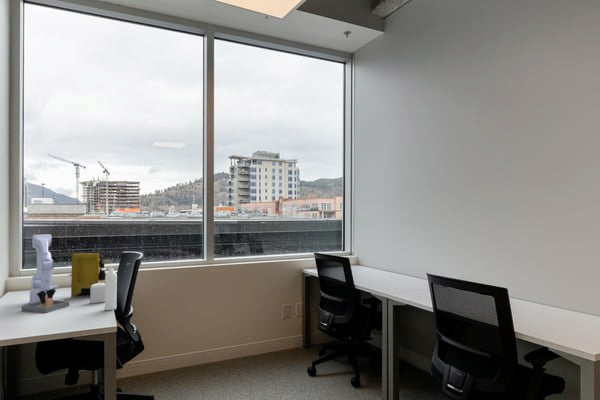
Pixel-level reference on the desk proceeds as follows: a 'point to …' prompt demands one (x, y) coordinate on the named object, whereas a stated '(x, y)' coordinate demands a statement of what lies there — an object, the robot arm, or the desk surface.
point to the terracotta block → (47, 302)
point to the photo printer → (97, 293)
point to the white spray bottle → (110, 289)
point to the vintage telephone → (86, 272)
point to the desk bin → (36, 307)
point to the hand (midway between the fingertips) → (46, 302)
